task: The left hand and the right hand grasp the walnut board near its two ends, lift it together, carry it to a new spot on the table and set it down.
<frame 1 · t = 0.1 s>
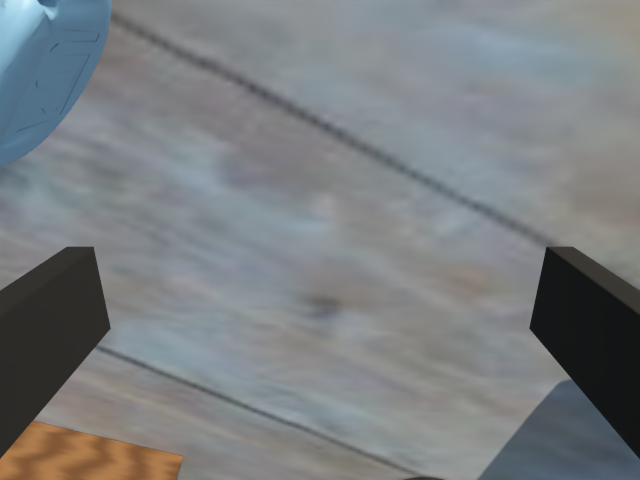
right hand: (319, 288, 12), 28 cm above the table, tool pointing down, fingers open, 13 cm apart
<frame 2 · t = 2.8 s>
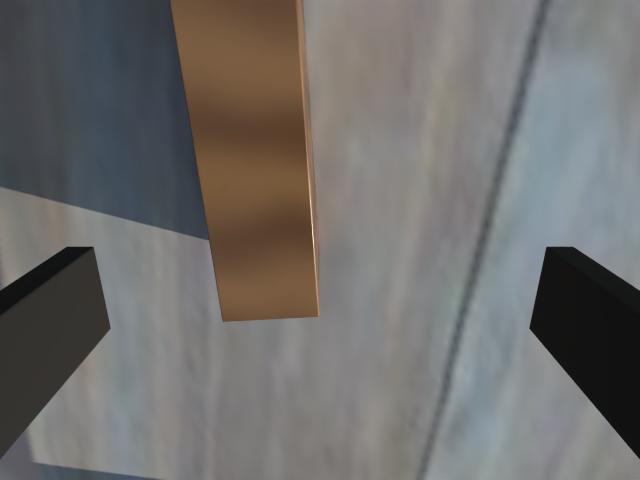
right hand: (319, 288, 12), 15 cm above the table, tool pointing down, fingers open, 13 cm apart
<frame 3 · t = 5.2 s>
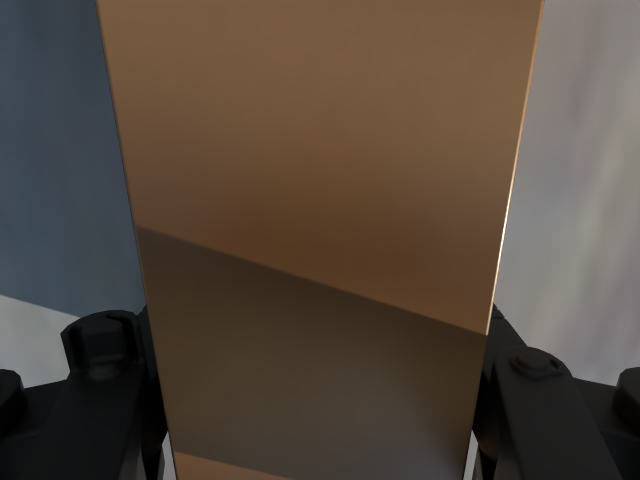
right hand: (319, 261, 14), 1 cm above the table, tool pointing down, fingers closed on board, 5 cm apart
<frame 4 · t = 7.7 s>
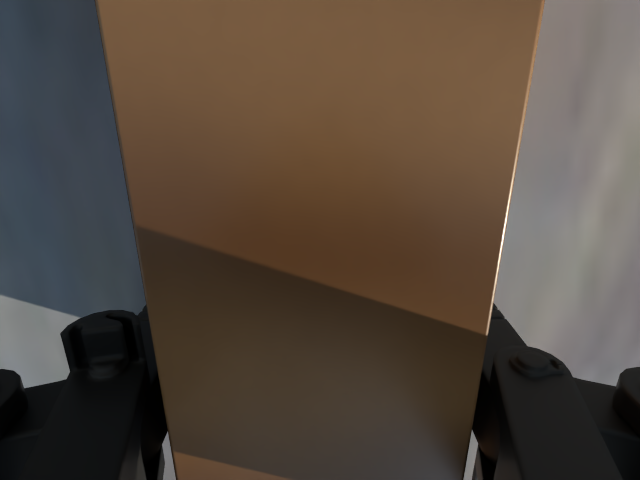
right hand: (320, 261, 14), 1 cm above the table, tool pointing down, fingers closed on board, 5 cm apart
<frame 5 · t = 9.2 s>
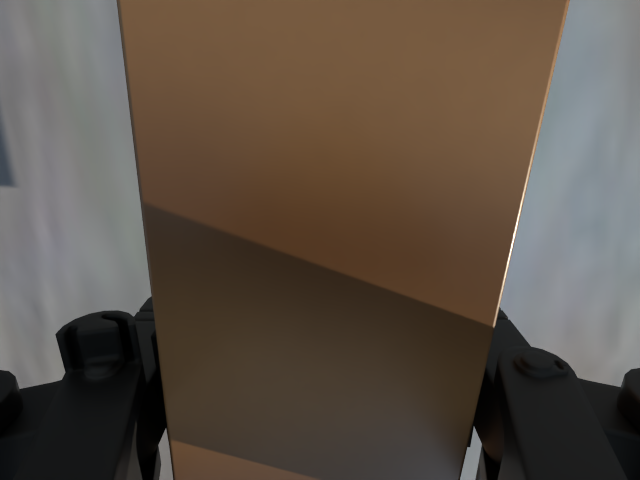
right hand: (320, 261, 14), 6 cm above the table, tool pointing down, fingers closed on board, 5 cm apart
when the left hand's fingers open (2 cm above the table, at t = 11.0 s): board stays where it is, on the table.
when the right hand's fingers open (2 cm above the table, at t = 11.0 s): board stays where it is, on the table.
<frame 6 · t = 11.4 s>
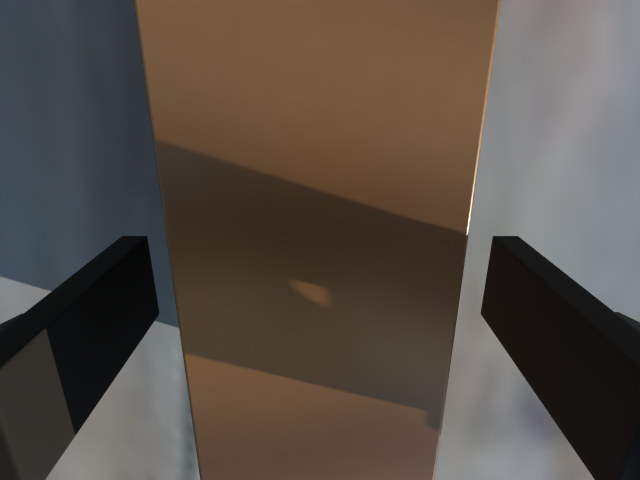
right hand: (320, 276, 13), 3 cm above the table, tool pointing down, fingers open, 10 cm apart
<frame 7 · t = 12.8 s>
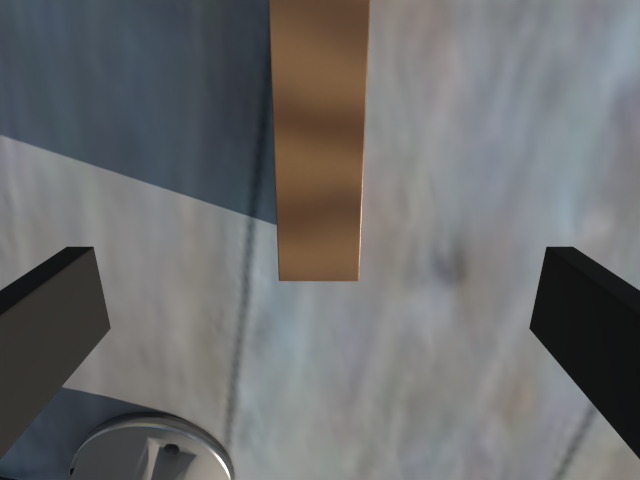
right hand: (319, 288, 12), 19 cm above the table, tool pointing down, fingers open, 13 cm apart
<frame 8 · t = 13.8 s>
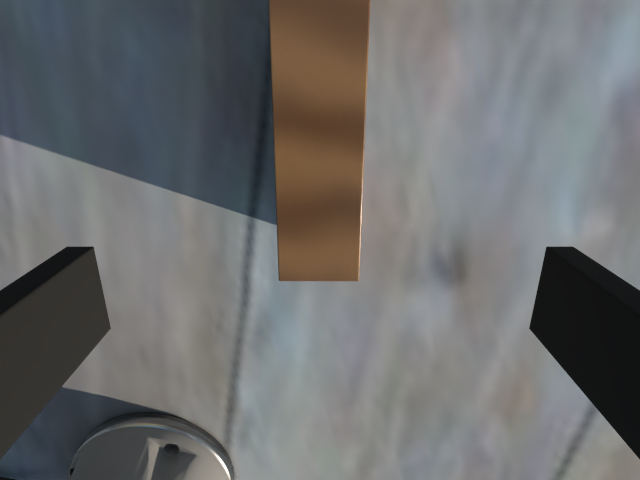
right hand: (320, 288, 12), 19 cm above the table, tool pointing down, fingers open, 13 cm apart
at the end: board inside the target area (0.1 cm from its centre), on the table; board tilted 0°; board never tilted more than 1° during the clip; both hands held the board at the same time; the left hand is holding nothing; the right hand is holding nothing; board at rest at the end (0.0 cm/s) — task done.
